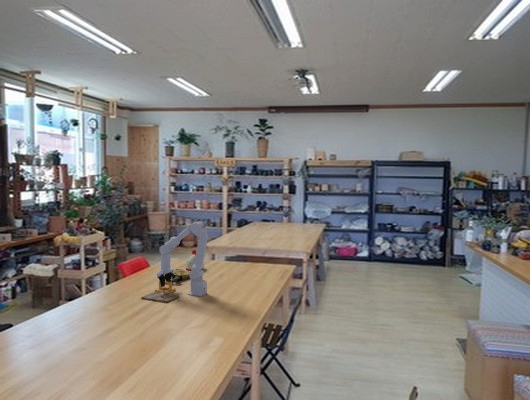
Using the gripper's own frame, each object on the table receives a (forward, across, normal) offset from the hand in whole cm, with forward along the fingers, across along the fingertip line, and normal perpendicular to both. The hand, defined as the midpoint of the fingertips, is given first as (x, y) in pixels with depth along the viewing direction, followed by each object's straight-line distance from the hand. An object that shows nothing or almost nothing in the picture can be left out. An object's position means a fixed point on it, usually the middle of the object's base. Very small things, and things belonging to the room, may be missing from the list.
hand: (165, 285), depth 250 cm
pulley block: (+4, -29, -10) cm, 31 cm away
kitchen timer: (+4, -61, -17) cm, 63 cm away
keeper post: (+4, +13, +7) cm, 15 cm away
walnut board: (+4, +13, +6) cm, 15 cm away
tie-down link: (+4, 0, 0) cm, 4 cm away
